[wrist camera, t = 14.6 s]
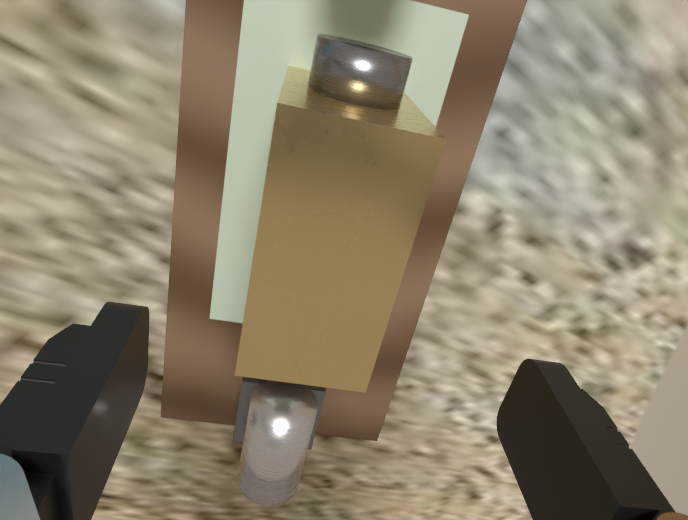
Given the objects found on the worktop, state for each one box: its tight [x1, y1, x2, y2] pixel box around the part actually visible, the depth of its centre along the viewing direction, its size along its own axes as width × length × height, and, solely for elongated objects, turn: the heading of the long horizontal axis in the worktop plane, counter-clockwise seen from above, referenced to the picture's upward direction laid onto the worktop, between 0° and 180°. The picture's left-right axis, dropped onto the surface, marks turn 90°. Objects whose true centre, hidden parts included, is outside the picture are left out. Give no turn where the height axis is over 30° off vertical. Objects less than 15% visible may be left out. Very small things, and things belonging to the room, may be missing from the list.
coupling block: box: [235, 34, 446, 393], centre depth 18 cm, size 12×4×7 cm, turn 167°
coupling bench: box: [161, 0, 527, 505], centre depth 20 cm, size 29×12×6 cm, turn 168°
